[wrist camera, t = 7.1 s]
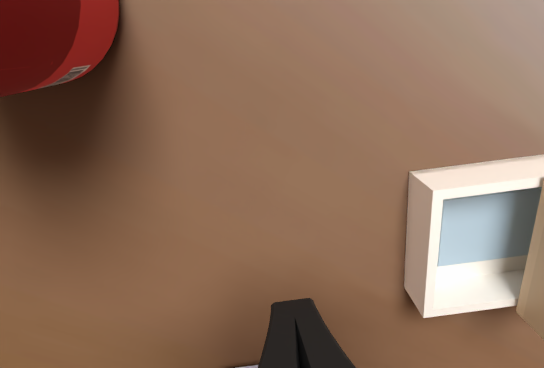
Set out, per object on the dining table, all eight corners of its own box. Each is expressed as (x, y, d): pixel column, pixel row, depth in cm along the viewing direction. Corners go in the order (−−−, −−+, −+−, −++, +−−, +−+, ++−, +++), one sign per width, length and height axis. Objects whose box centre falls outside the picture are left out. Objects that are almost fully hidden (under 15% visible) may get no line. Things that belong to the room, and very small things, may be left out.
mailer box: (583, 149, 21) (633, 165, 18) (553, 267, 25) (591, 295, 22) (409, 171, 21) (433, 191, 18) (404, 287, 25) (423, 317, 22)
